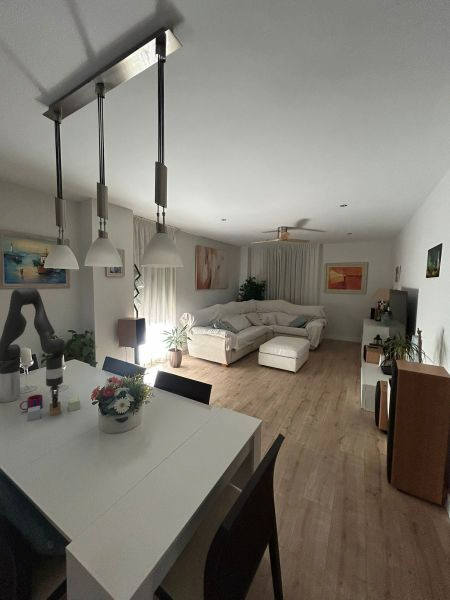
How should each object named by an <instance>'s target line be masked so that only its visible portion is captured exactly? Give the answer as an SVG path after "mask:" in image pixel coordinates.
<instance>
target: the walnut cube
mask: <svg viewBox="0 0 450 600" xmlns="http://www.w3.org/2000/svg"><path fill="white" fill-rule="evenodd" d="M48 405H49V407H48V408H49V417H53V416H56V415H57V416H58V415H61V413H62V406H61V405H62V403H61V401H59V400H58V407H57V408H53V402H51V403H49V404H48Z"/></svg>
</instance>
